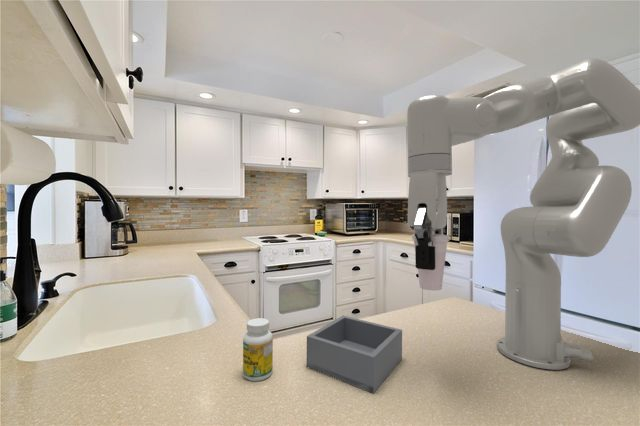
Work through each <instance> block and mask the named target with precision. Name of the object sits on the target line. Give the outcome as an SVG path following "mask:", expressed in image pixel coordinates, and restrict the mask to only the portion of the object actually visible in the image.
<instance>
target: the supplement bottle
mask: <svg viewBox="0 0 640 426" xmlns="http://www.w3.org/2000/svg"><path fill="white" fill-rule="evenodd" d="M269 329H270V321H269V319H268V318H262V317H257V318H252V319H249V320H248V321H247V322H246V331H247V332H246V333H244V335H243V338H242V373H243V374H242V375H243V377H244V379H246V380H248V381H251V382H258V381H263V380H266V379H268V378H269V377H270V376H272V374H273V370H274V369H273V367H274V365H273V362H274V359H273V358H274V356H273V355H274V354H273V351H274V348H273V346H274V345H273V343H274V339H273V338H274V337H273V333H272V332H271V331H270V330H269Z"/></svg>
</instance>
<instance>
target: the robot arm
mask: <svg viewBox="0 0 640 426" xmlns="http://www.w3.org/2000/svg"><path fill="white" fill-rule="evenodd" d="M406 112H407V115H406V117H407V119H406V120H407V123H406V124H407V127H406V128H407V177H408V178H409V184H408V185H409V186H408V195H407V196H408V197H407V199H408V200H407V227H408V228H409V230H414V232H415V233H414V234H415V236H416V238H415V246H414V252H415V255H414V256H415V258H414V259H415V269H417V270H418V269H426V270H434V269H435V246H433V240H434V230H435V234H444V230H443V228H445V227H446V226H447V223H448V197H447V193H448V192H447V191H448V190H447V187H448V186H447V176H452V175H453V158H452V157H453V155H452V151H453V150H452V147H454V146H458V145H461V144H465V143H468V142H472V141H475V140H479V139H481V138H484V137H485V136H488V135H493V134H499V133H502V132H505V131H509V130H512V129H516V128H519V127H522V126H524V125H527V124H531V123H533V122H537V121H539V120H541V119H544V118H545V119H546V118H548V117H549V118H548V120H547V123H546V126H545V132H546V133H545V134H546V136H547V141H548V144H549V147H550V151H551V159H550V160H549V162H548V164H547V165H546V167H545V169H544V170H543V171H542V173H541V174H540V176H539V177H538V179H537V180H536V182H535V184H534V185H533V188H532V189H531V192H530V195H529V202H530V204H531V205H532V206H521V207H517V208H514V209H511V210H510V211H508V212H506V213H505V215H504V216H503V217H502V219H501V222H500V227H499V228H500V237H501V240H502V244H503V245H502V246H503V250H504V258H505V298H504V299H505V302H504V305H505V310H504V311H505V313H504V315H505V316H504V319H505V320H504V325H505V326H504V329H505V330H504V332H505V333H504V337H502V338H499V339H497V341H496V347H497V350H498V351H499V353H501V354H502V355H504V356H505V357H507V358H509V359H511V361H512V360H513V361H515V362H518V363H519V364H523V365H524V366H525V365H526V366H530V367H533V368H538V369H544V370H553V371H554V370H556V371H557V370H559V371H560V370H565V369H567V368H569V367H570V366H571V363H572V360H571V357H572V358H577V359H579V360H583V361H588V362H593V357H594V356H593V352H592V350H589V349H584V348H582V346H581V345H577V344H570V343H568V342H566V341H565V340H564V339H563V336H562V335H561V334H562V333H561V332H562V331H561V326H562V325H561V324H562V320H561V319H562V318H561V317H562V316H561V314H562V312H561V311H562V309H561V308H562V307H561V306H562V277H561V276H562V274H561V271H560V268H559V267H558V264H557V262H556V261H555V260H554V258H553V257H552V255H560V256H565V257H566V256H567V257H577V258H589V257H593V256H596V255H598V254H600V252H602V251H603V250H604V249H605V248H606V246H607V244H608V243H609V242H610V239H611V238H612V236H613V234H614V232H615V230H616V229H617V227H618V225H619V223H620V222H621V220H622V219H623V218H622V217H624V214H625V212H626V210H627V209H628V206H629V205H630V201H631V198H632V191H633V190H632V189H633V188H632V181H631V178H630V176H629V175H628V173H626V172H625V171H624V170H623V169H622V168H619V167H617V166H614V165H600V161H599V158H598V156H597V154H596V153H595V152H594V151H593V150H591V148H589V146H586V145H584V144H583V140H589V139H593V138H599V137H605V136H608V135H614V134H618V133H623V132H628V131H632V130H633V129H635V128H637V127H639V126H640V89H639V88H638V87H637V86H636V85H635V84H634V83H633V82H631V80H629V79H628V78H627V77H626V76H625V74H623V73H622V72H621V71H620V70H619V69H617V68H616V67H615V66H613V65H612V64H610V63H608V62H607V61H605V60H603V59H599V58H587V59H584V60H581V61H579V62H577V63H575V64H572V65H570V66H567V67H565V68H562V69H560V70H558V71H556V72H552V73H550V74H547V75H545V76H542V77H537V78H534V79H531V80H528V81H527V80H526V81H524V82H520V83H516V84H513V85H512V84H511V85H509V86H506V87H503V88H501V89H499V90H496V91H494V92H491V93H490V94H488V95H485V96H484V97H478V96H468V97H465V96H464V97H453V98H451V97H450V98H448V97H446V96H444V95H442V94H441V95H440V94H431V95H425V96H421V97H419V98H416V99H414V100H412V101H411V102H410V103H409V105H408V107H407V111H406ZM428 234H429V237H428ZM551 254H552V255H551Z"/></svg>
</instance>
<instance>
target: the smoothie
mask: <svg viewBox="0 0 640 426" xmlns="http://www.w3.org/2000/svg"><path fill="white" fill-rule="evenodd" d="M411 237H412V238H411V241H413V245H414V247H415V238H416V236H415V233H414V234H412V235H411ZM428 237H429V234H428ZM448 242H450V235H448V234H444V233H443V234H435V230H434V240H433V246H435V269H434V270H426V269H417V274H418V280H419V281H418V282H419V288H421V289H422V290H425V291H440V290H442V289H443V281H444V272H445V271H444V270H445V266H446V265H445V264H446V255H447V246H448Z"/></svg>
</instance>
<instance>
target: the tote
mask: <svg viewBox="0 0 640 426" xmlns="http://www.w3.org/2000/svg"><path fill="white" fill-rule="evenodd" d="M402 359H403V329H401V328H396V327H393V326H392V327H391V326H388V325H384V324H380V323H376V322H370V321H367V320H363V319H360V318H355V317H351V316H347V315H342V316H340V317H338V318H336V319H335V320H333V321H331V322H329V323H327V324H326V325H324V326H322V327H321V328H320V327H319V328H318V329H316V330H315V331H313V332H312V333H309V334H308V335H306V363H305V364H306V368H307V367H309V368H308V369H310V368H311V369H310V370H312V369H314V370H313V371H315V370H316V371H315V372H317V371H319V372H318V373H320V372H321V373H320V374H322V373H324V374H323V375H325V374H327V375H329V376H328V377H330V376H332V377H331V378H333V377H334V378H333V379H335V378H336V379H335V380H338V379H339V380H338V381H340V380H341V381H340V382H343V383H345V382H346V384H348V383H349V384H348V385H350V384H351V385H350V386H353V385H354V386H353V387H355V386H356V388H358V389H360V388H361V390H363V389H364V390H363V391H366V392H368V393H371V394H375V393H376V392H377V390H379V388H380V387H381V385H382V384H383V383H384V381H386V379H387V378H388V377H389V376H390V374H391V373H392V372H393V371H394V370H395V368H396V367H397V366H398V365H399V364H400V362H401V361H402ZM327 375H326V376H327Z"/></svg>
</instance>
